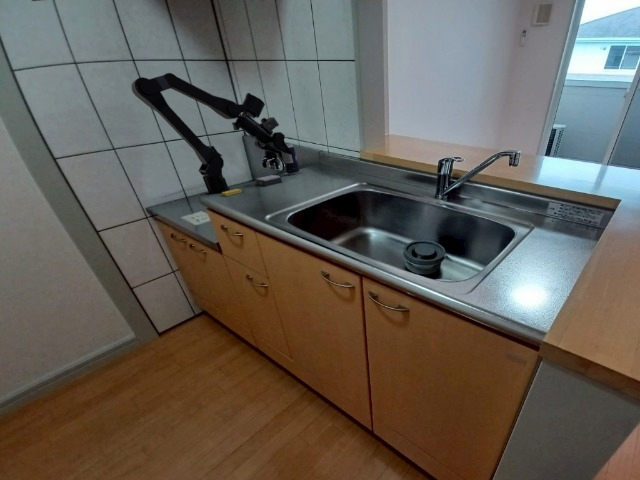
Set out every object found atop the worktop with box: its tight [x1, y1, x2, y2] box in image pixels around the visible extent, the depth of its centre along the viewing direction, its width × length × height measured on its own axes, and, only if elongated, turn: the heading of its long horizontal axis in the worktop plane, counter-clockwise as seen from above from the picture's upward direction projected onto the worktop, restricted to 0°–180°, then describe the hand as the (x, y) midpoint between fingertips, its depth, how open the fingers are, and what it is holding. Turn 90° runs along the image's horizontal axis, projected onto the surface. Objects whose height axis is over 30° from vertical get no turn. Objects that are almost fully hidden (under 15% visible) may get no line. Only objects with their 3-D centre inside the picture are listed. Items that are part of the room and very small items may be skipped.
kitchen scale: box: [255, 174, 283, 187], centre depth 129 cm, size 7×7×2 cm
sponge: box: [221, 188, 243, 197], centre depth 119 cm, size 6×4×1 cm, turn 136°
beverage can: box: [281, 143, 301, 176], centre depth 141 cm, size 6×6×12 cm
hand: (286, 153), depth 139 cm, fingers open, 9 cm apart
